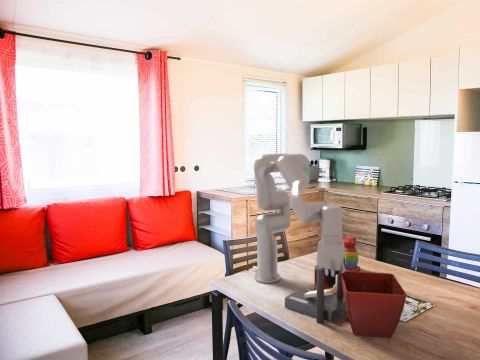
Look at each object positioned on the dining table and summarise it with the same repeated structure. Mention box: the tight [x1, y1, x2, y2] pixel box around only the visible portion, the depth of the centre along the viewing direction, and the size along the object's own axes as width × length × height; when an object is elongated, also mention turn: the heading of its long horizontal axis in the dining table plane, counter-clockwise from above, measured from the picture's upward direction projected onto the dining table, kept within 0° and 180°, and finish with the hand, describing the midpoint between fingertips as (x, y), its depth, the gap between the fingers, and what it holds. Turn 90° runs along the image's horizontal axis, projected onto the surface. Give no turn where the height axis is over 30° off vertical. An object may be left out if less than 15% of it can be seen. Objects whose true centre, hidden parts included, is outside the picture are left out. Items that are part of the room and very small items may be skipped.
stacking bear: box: [342, 235, 361, 272], centre depth 186 cm, size 11×10×18 cm
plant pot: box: [340, 271, 408, 338], centre depth 130 cm, size 19×19×17 cm
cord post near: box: [315, 268, 325, 325], centre depth 134 cm, size 3×3×20 cm
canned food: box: [313, 264, 334, 291], centre depth 161 cm, size 8×8×11 cm
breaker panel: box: [284, 287, 347, 324], centre depth 145 cm, size 20×13×6 cm, turn 50°
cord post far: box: [336, 273, 344, 299], centre depth 147 cm, size 3×3×20 cm
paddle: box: [304, 287, 337, 297], centre depth 144 cm, size 12×4×1 cm, turn 50°
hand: (331, 285), depth 140 cm, fingers closed
